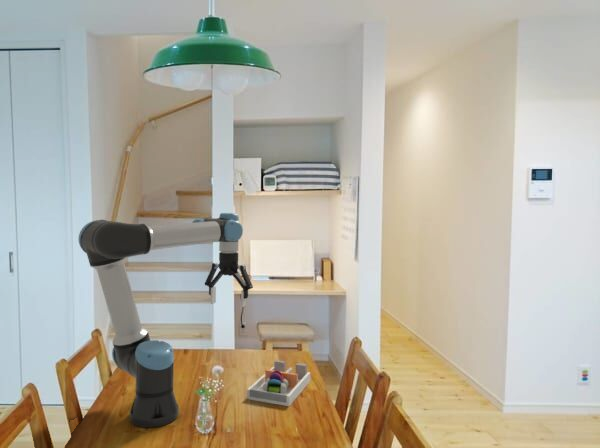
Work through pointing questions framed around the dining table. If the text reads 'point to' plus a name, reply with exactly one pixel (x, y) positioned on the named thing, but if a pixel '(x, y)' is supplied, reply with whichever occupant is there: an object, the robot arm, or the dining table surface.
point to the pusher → (285, 377)
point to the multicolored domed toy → (276, 383)
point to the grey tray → (285, 399)
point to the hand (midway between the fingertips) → (228, 304)
